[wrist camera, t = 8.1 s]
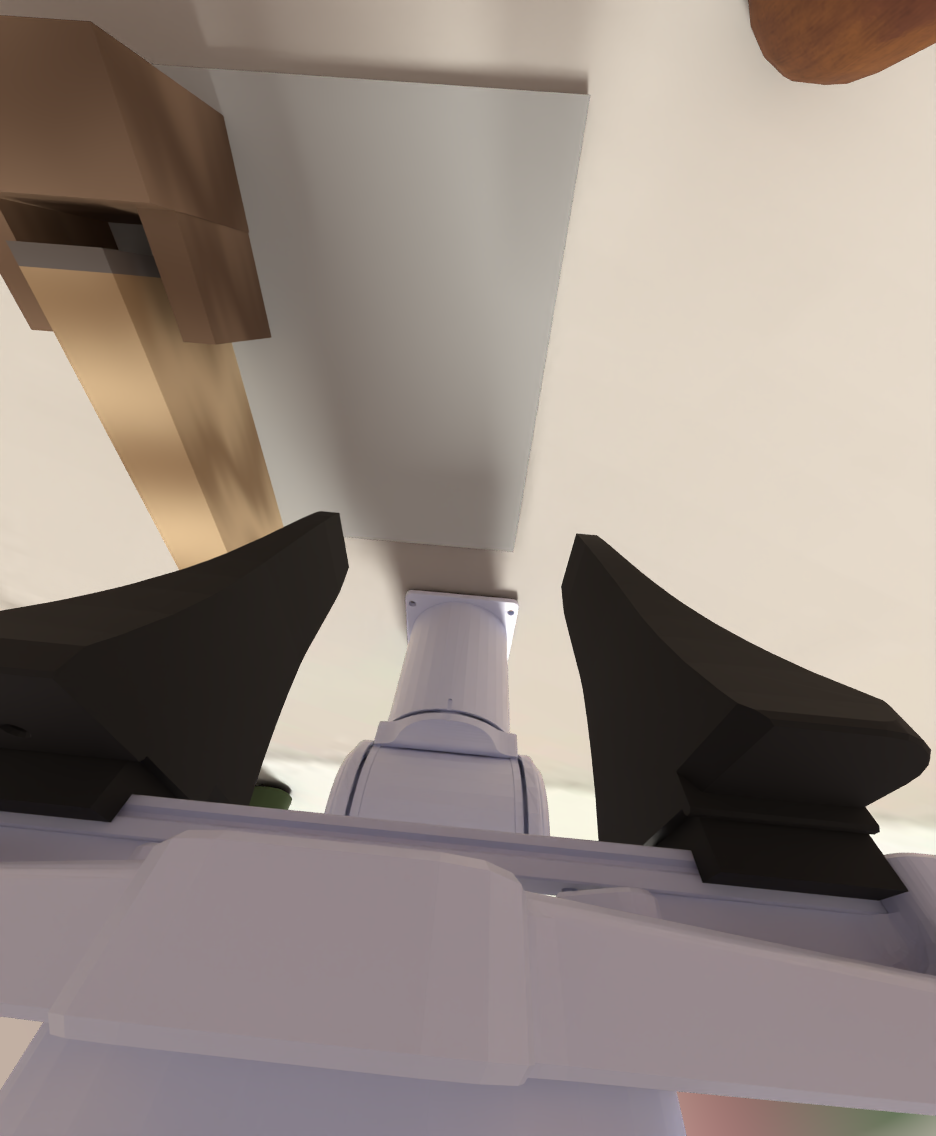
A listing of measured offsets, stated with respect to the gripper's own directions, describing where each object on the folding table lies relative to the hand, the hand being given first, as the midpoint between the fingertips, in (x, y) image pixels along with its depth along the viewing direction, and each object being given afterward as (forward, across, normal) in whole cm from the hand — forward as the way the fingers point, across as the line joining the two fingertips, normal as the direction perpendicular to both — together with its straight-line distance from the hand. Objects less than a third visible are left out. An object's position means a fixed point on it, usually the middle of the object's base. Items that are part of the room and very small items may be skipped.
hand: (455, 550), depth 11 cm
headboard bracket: (+10, +13, -7) cm, 18 cm away
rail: (+10, +13, 0) cm, 16 cm away
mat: (+10, +8, -3) cm, 13 cm away
